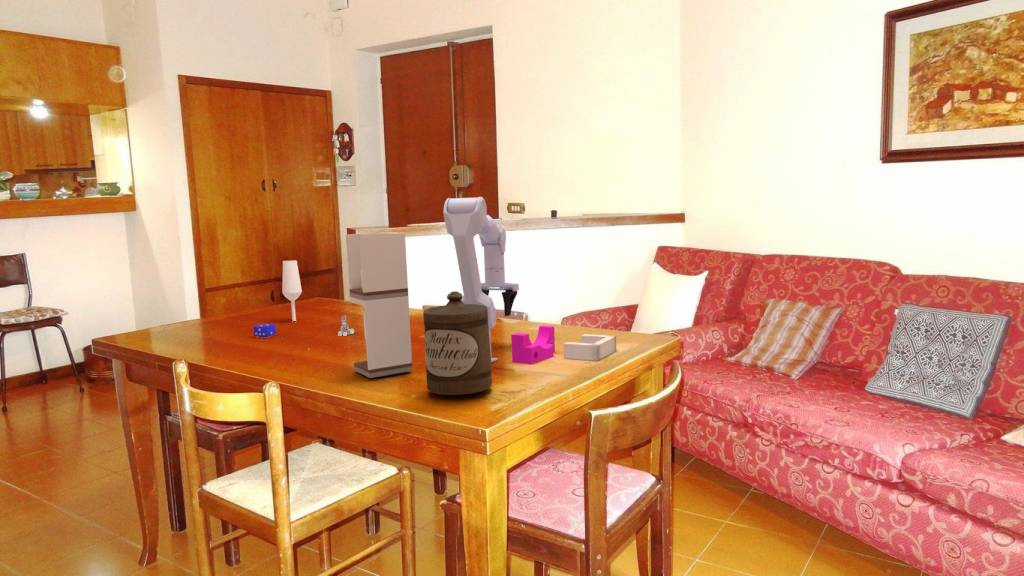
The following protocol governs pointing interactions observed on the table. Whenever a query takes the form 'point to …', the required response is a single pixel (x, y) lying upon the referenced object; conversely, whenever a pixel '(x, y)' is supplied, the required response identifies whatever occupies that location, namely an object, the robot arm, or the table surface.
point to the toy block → (533, 346)
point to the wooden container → (457, 347)
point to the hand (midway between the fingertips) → (496, 315)
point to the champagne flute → (291, 283)
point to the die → (264, 330)
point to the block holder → (590, 347)
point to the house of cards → (345, 328)
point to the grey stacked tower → (381, 300)
